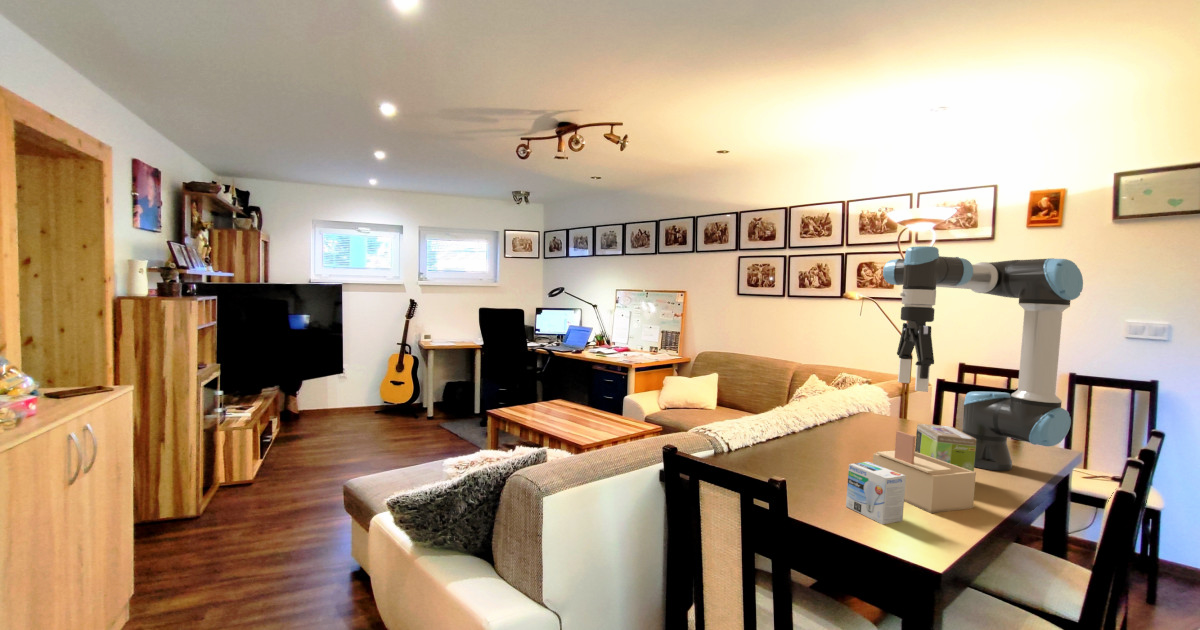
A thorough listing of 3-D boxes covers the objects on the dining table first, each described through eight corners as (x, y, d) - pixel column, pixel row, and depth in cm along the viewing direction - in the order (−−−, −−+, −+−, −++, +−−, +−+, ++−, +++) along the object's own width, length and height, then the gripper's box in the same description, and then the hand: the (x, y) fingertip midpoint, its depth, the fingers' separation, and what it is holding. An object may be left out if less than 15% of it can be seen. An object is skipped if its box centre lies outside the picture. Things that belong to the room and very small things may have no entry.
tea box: (973, 492, 144) (978, 438, 143) (932, 488, 146) (936, 434, 145) (949, 474, 159) (953, 425, 158) (912, 470, 161) (915, 422, 160)
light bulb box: (844, 506, 130) (847, 463, 130) (864, 503, 133) (867, 460, 132) (883, 525, 120) (886, 478, 120) (904, 521, 123) (907, 475, 122)
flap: (897, 452, 146) (899, 425, 146) (951, 471, 131) (953, 440, 131) (876, 453, 144) (878, 426, 143) (928, 473, 129) (930, 442, 129)
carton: (910, 482, 150) (912, 450, 149) (973, 508, 133) (975, 472, 132) (871, 486, 145) (873, 453, 145) (930, 513, 128) (933, 476, 128)
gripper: (888, 304, 153) (883, 378, 154) (918, 306, 128) (912, 394, 129) (917, 305, 151) (911, 380, 152) (953, 308, 127) (947, 396, 128)
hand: (912, 386), depth 141 cm, fingers open, 13 cm apart
